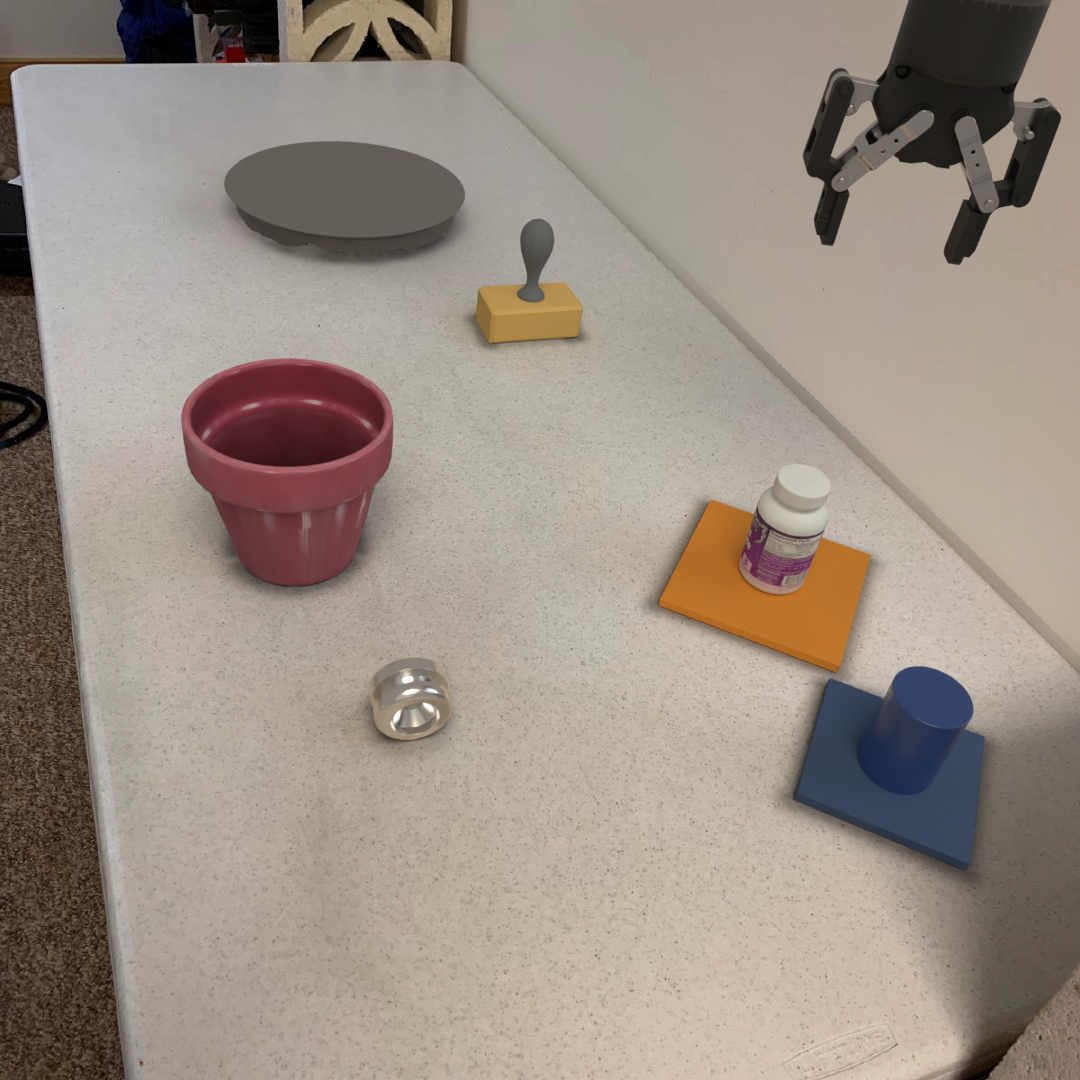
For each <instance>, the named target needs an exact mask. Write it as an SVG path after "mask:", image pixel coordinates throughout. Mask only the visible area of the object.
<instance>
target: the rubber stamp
mask: <svg viewBox="0 0 1080 1080" xmlns="http://www.w3.org/2000/svg"><path fill="white" fill-rule="evenodd" d="M554 233H555V232H554V229H553V227H552V225H551V224H550V223H549V222H548V221H547V220H545V219H542V218H532V219H531V220H529V221H528V222H526V223H525V224H524V226H523V227H522V228H521V232H520V235H519V240H520V241H519V243H520V244H519V245H520V251H521V255H522V260H523V263H524V267H525V272H526V282H525V283H523V284H506V285H489V286H481V287H478V288H477V297H476V310H475V311H476V312H475V320H476V322H477V324H478V326H479V328H480V329H481V331H482V333H483V335H484V337H485V338H486V341H487V342H488V344H499V343H513V342H526V341H529V342H530V341H540V340H541V341H542V340H553V339H555V340H556V339H568V338H577V337H579V336H580V329H581V322H582V316H583V311H584V310H583V305H582V304H581V302H580V300H579V299H578V298H577V296H576V295H575V293H574V292H573V291H572V289H571V288H570V286H569V285H568V283H567V282H564V281H559V282H542V283H541V282H540V283H539V280H540V277H541V275H542V272H543V270H544V268H545V266H546V264H547V262H548V261H549V259H550V257H551V255H552V252H553V250H554V246H555V234H554Z"/></svg>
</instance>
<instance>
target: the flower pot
mask: <svg viewBox="0 0 1080 1080" xmlns="http://www.w3.org/2000/svg"><path fill="white" fill-rule="evenodd" d="M180 422H181V431H182V432H181V433H182V440H183V446H184V447H183V448H184V452H185V453H184V454H185V457H186V463H187V467H188V469H189V472H190V474H191V476H192V477H193V479H194V480H195V481H196V483H197V484H198V485H199V486H201V488H202V489H204V490H205V491H206V492H207V493H209V494H210V496H211V498H212V500H213V503H214V505H215V507H216V509H217V512H218V514H219V517H220V518H221V520H222V523H223V525H224V527H225V530H226V531H227V533H228V536H229V538H230V541H231V543H232V545H233V547H234V550H235V552H236V555H237V557H238V560H239V562H240V563H241V565H242V566H243V567H244V568H245V569H246V570H247V571H248V572H249V573H250V574H252V575H253V576H254V577H256V578H258V579H260V580H262V581H264V582H266V583H270V584H275V585H280V586H286V587H302V586H308V585H315V584H319V583H321V582H325V581H327V580H329V579H332V578H333V577H336V576H337V575H339V574H340V573H341V572H343V571H344V570H345V569H346V568H348V567H349V565H350V564H351V563H352V561H353V560H354V558H355V555H356V553H357V551H358V547H359V543H360V539H361V537H362V532H363V530H364V527H365V523H366V521H367V520H366V519H367V515H368V512H369V509H370V505H371V501H372V498H373V495H374V490H375V487H376V485H377V484H378V483H379V482H380V481H381V479H383V477H384V476H385V475H386V473H387V471H388V469H389V467H390V464H391V461H392V457H393V446H394V416H393V408H392V405H391V402H390V400H389V398H388V396H387V395H386V393H385V392H384V391H383V390H382V388H380V387H379V386H378V385H377V384H376V383H375V382H374V381H372V380H371V379H369V378H368V377H366V376H364V375H363V374H360V373H358V372H356V371H354V370H352V369H350V368H347V367H344V366H341V365H338V364H335V363H334V364H333V363H329V362H326V361H321V360H315V359H307V358H306V359H305V358H293V357H292V358H291V357H289V358H268V359H261V360H254V361H249V362H245V363H242V364H239V365H235V366H232V367H229V368H227V369H224V370H221V371H219V372H217V373H215V374H213V375H212V376H211V377H209V378H207V379H206V380H204V381H203V382H201V383H200V384H199V385H198V386H196V387H195V389H194V390H192V392H191V393H190V394H189V395H188V397H187V398H186V400H185V402H184V404H183V407H182V409H181V414H180Z"/></svg>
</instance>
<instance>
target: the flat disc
mask: <svg viewBox="0 0 1080 1080" xmlns="http://www.w3.org/2000/svg"><path fill="white" fill-rule="evenodd" d="M223 186H224V191H225V193H226V195H227V197H228V198H229V199H230V200H231V201H232V203H233V204H234V205H235V207H236V209H237V213H238V215H239V216H240V218H241V220H242V222H244V224H245V226H247V228H249V229H250V230H251V231H252V232H254V233H257V234H259V235H260V236H262V237H264V238H267V239H269V240H272V241H274V242H276V244H279V245H282V246H285V247H291V246H292V247H300V246H303V245H306V246H307V245H311V246H315V247H317V248H319V249H322V250H325V251H332V252H337V253H338V252H340V251H345V252H346V253H350V254H353V255H356V256H359V255H374V254H380V253H383V252H387V251H391V250H395V251H396V252H404V251H407V250H410V249H418V248H421V247H423V246H424V245H425V246H427V245H429V244H432V243H433V242H435V241H436V240H438V238H443V236H445V235H448V233H449V231H450V229H452V226H453V224H454V219H455V216H456V213H458V212H459V210H460V209H461V207H463V206H464V205H463V204H464V202H465V200H466V192H465V191H466V190H465V188H464V185H463V183H462V182H461V180H460V179H459V178H458V177H457V176H456V175H455V174H454V173H453V172H452V171H450V169H448V168H447V167H445V166H444V165H442V164H439V163H438V162H436V161H434V160H432V159H430V158H427V157H425V156H423V155H419V154H416V153H414V152H410V151H407V150H404V149H401V148H400V149H399V148H397V147H390V146H387V145H386V146H385V145H381V144H373V143H367V142H356V141H342V140H341V141H338V140H321V141H320V140H319V141H318V140H317V141H303V142H295V143H294V142H293V143H289V144H283V145H278V146H274V147H269V148H266V149H262V150H260V151H256V152H254V153H252V154H250V155H248V156H246V157H243V158H242V159H240V160H239V161H237V162H236V163H235V164H234V165H232V167H230V169H229V170H228V171H227V172H226V175H225V177H224V182H223Z"/></svg>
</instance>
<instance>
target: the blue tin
mask: <svg viewBox="0 0 1080 1080" xmlns="http://www.w3.org/2000/svg"><path fill="white" fill-rule="evenodd" d="M882 698H883V700H882V702H881V704H880V706H879V708H878V710H877V712H876V714H875V715H874V717H873V719H872V721H871V723H870V725H869V727H868V729H867V731H866V733H865V735H864V737H863V738H862V740H861V742H860V744H859V747H858V760H859V763H860V765H861V767H862V769H863V771H864V772H865V773H866V775H867V776H868V777H869V778H870V779H871V780H872V781H873V782H874V783H876V784H877V785H879V786H880V787H882V788H884V789H886V790H888V791H890V792H893V793H897V794H902V795H913V794H918V793H920V792H922V791H924V790H926V789H927V788H928V787H929V785H930V784H931V782H932V781H933V779H934V778H935V776H936V774H937V773H938V771H939V770H940V768H941V766H942V765H943V763H944V762H945V760H946V758H947V757H948V755H949V754H950V752H951V750H952V749H953V747H954V746H955V744H956V742H957V741H958V739H959V738H960V736H961V734H962V733H963V731H964V730H965V729H966V728H967V727H968V725H969V723H970V721H971V720H972V718H973V715H974V703H973V700H972V698H971V695H970V694H969V692H968V691H967V689H966V688H965V687H964V686H963V685H962V684H961V683H960V682H959V681H958V680H957V679H955V678H954V677H953V676H951V675H949V674H948V673H946V672H944V671H942V670H939V669H936V668H933V667H929V666H923V665H913V666H909V667H908V666H907V667H905V668H902V669H901V670H899V671H898V672H897V673H896V674H895V676H894V677H893V679H892V680H891V683H890V685H889V687H888V689H887V691H886V693H885V695H884V696H883V697H882Z"/></svg>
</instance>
